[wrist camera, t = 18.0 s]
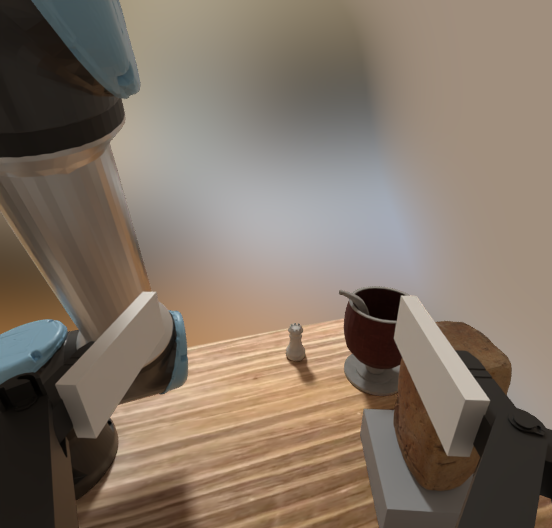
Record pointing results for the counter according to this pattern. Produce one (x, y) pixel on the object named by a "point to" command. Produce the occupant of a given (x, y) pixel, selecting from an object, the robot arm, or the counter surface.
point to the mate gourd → (372, 339)
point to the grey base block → (403, 481)
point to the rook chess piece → (295, 343)
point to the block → (418, 426)
